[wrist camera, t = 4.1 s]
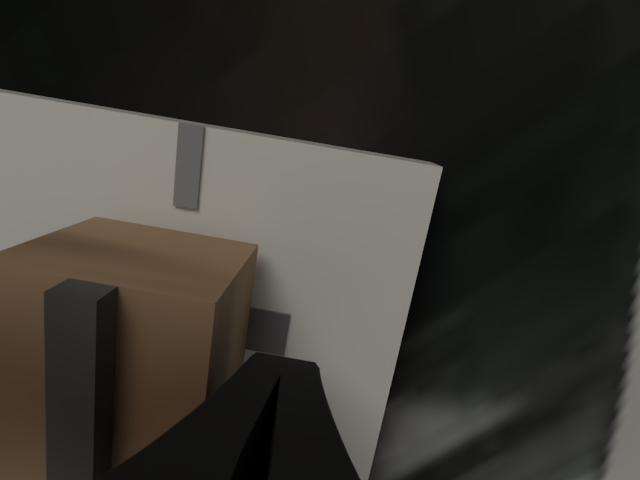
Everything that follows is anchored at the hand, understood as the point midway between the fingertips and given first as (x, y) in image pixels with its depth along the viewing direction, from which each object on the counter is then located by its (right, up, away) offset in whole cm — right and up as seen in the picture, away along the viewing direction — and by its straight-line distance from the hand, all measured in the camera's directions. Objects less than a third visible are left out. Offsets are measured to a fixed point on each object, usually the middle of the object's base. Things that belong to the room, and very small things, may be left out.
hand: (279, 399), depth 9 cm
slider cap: (-3, +1, +2) cm, 4 cm away
